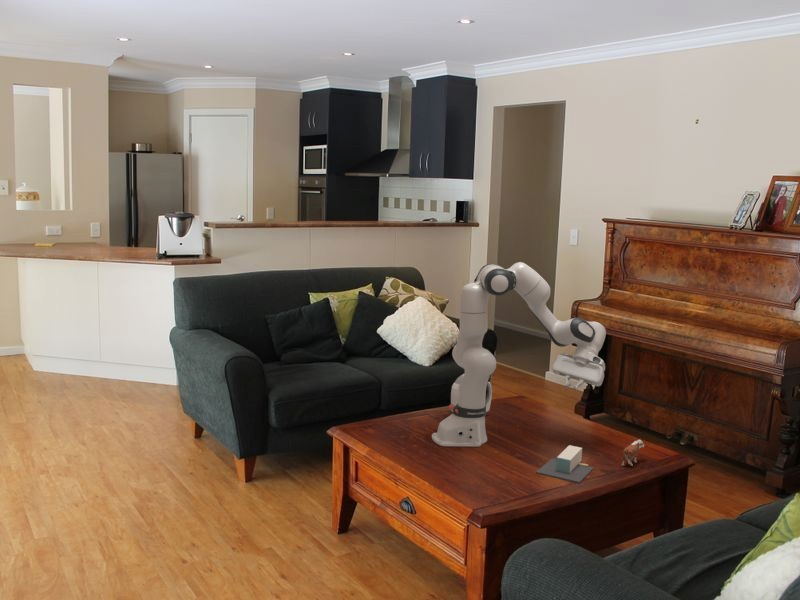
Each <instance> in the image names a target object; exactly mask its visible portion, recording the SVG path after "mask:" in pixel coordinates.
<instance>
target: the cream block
mask: <svg viewBox="0 0 800 600" xmlns="http://www.w3.org/2000/svg"><path fill="white" fill-rule="evenodd" d="M582 456H583V447H580V446H574V445H571V444H569V445H568V446H567V447H566V448H565V449H564V450H563V451H562V452H561V453H559V455H557V456H556V458H555V459H556V471H560V472H565V473H570V472H571V471H572V470H573V469H574V468H575V467H576V466H577V465H578V464H579V463H582V458H583V457H582Z"/></svg>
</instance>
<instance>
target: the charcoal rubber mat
mask: <svg viewBox="0 0 800 600" xmlns="http://www.w3.org/2000/svg"><path fill="white" fill-rule="evenodd" d="M556 459H557V458H551V459H550V460H549V461H547V462H546V463H545V464H544V465H542V466H541V467H540V468H538V470H537V471H535V472H536V473H535V474H538V475H543V476H547V477H552V478H556V479H558V480H559V479H560V480H564V481H568V482H572V483H575V484H580V483H581V482H582V481H583V480H584V479H586V477H588V475H589V474H590V473H591V472H592V471H593V470H594V469H595V467H594V466H588V467H584V466H580V465H577V466H576V467H575V468H574V469H573V470H572V471H571V472H570V473H565V472H560V471H556Z"/></svg>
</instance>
